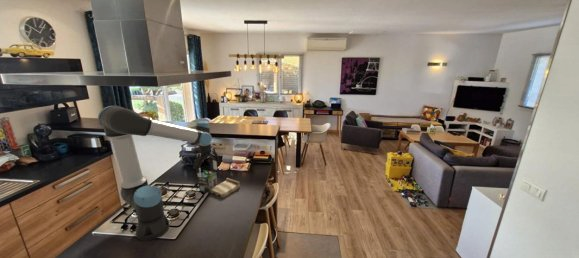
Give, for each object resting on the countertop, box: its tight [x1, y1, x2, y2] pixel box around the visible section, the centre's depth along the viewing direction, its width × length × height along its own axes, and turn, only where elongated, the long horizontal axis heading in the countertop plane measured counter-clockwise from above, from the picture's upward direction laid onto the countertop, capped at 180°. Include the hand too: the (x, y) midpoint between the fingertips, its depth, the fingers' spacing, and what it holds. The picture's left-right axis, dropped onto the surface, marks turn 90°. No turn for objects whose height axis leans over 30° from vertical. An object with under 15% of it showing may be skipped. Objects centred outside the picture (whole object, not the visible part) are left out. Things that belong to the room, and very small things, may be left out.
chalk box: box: [197, 169, 219, 194], centre depth 159 cm, size 9×9×15 cm
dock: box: [209, 177, 241, 199], centre depth 159 cm, size 16×12×5 cm
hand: (207, 172), depth 158 cm, fingers open, 13 cm apart
